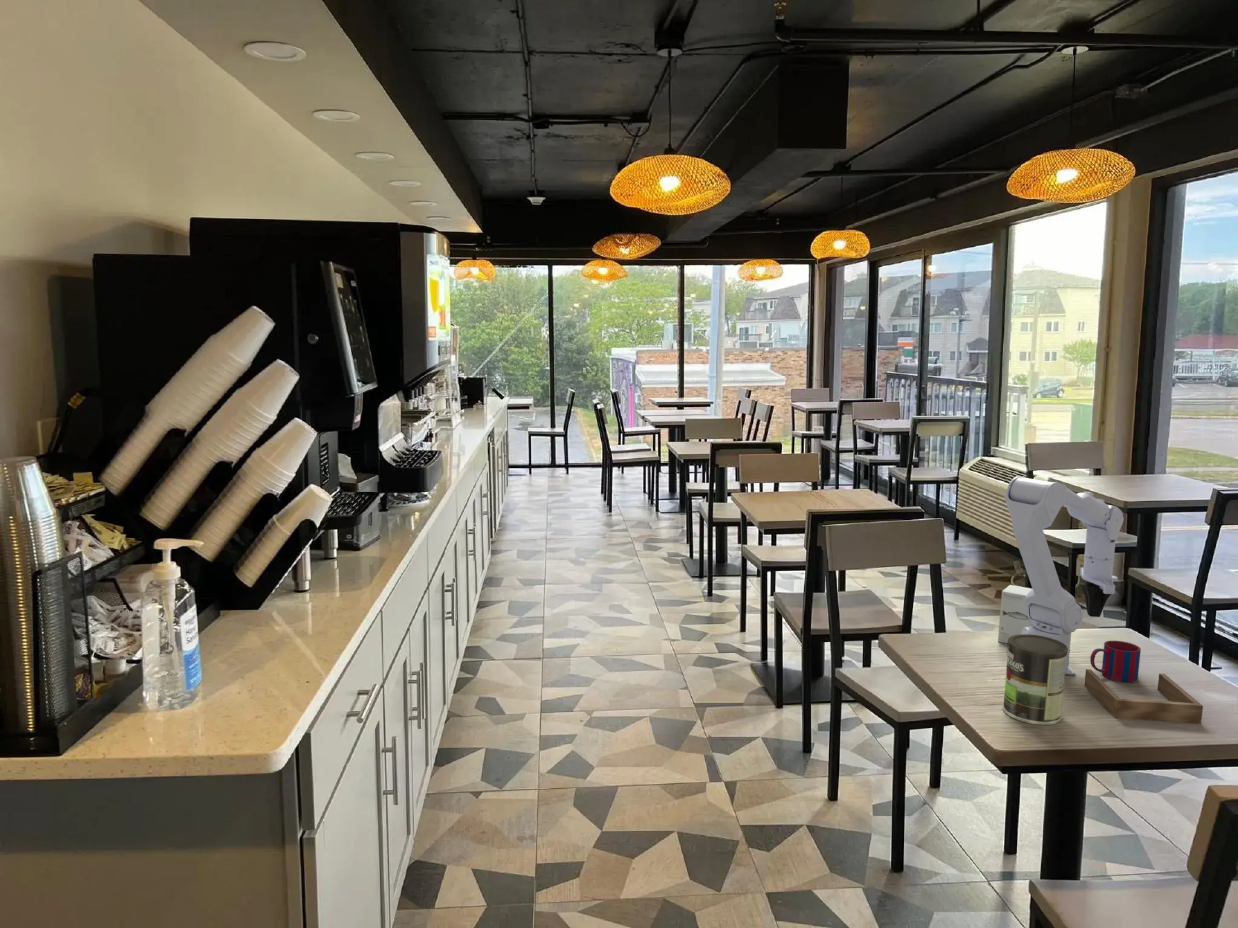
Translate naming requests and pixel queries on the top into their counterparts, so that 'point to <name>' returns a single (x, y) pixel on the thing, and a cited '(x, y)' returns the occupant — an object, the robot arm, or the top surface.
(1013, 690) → the coffee can
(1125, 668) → the mug
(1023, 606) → the supplement box
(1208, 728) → the top surface
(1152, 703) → the holder
